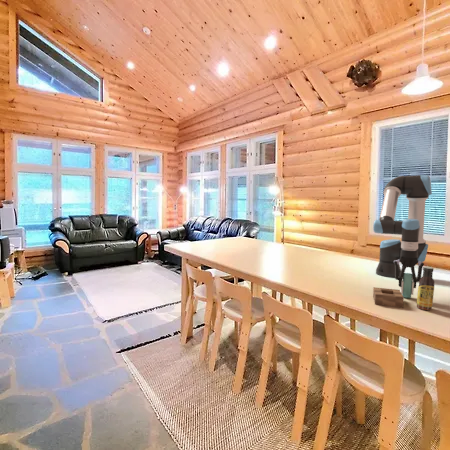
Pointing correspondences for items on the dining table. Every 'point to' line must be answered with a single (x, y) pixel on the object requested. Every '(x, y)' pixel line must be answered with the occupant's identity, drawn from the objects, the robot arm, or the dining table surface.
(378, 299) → the socket block
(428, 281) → the sauce bottle
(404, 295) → the dowel
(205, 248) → the dining table surface
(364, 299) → the dining table surface
